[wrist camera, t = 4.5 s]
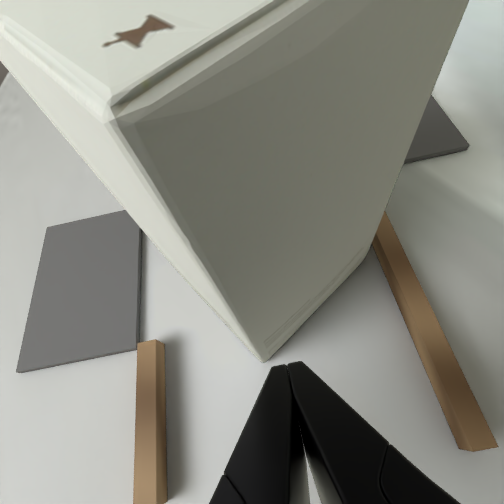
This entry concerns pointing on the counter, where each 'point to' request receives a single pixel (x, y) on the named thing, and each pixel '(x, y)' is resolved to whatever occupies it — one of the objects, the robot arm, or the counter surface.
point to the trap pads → (128, 273)
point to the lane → (421, 330)
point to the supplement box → (240, 130)
